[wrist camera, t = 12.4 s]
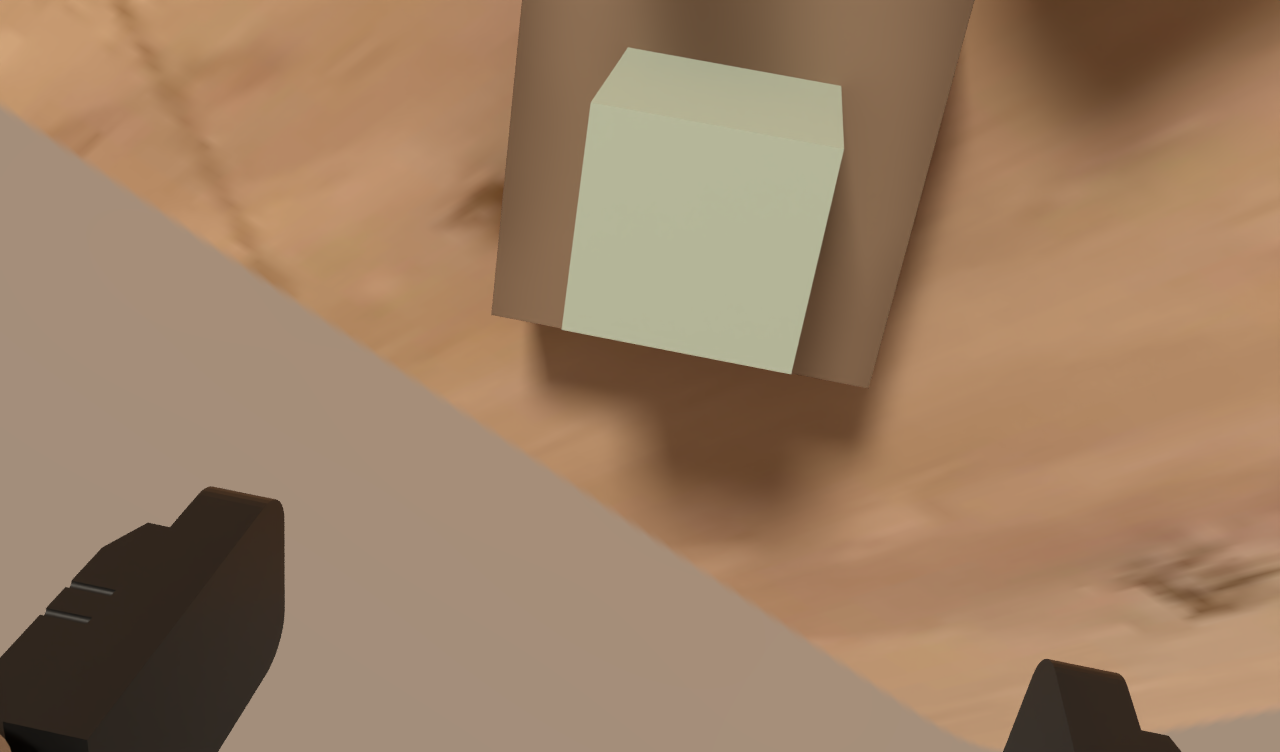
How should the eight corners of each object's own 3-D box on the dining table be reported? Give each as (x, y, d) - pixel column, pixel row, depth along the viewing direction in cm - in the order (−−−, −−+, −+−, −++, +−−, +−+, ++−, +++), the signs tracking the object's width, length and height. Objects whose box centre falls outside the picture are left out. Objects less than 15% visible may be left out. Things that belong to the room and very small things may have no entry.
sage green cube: (841, 85, 28) (844, 149, 23) (796, 283, 30) (790, 374, 26) (627, 47, 28) (590, 102, 23) (600, 245, 30) (561, 329, 26)
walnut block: (958, -35, 30) (976, -7, 26) (864, 323, 35) (868, 388, 31) (565, -105, 30) (530, -86, 27) (524, 258, 35) (491, 314, 32)
